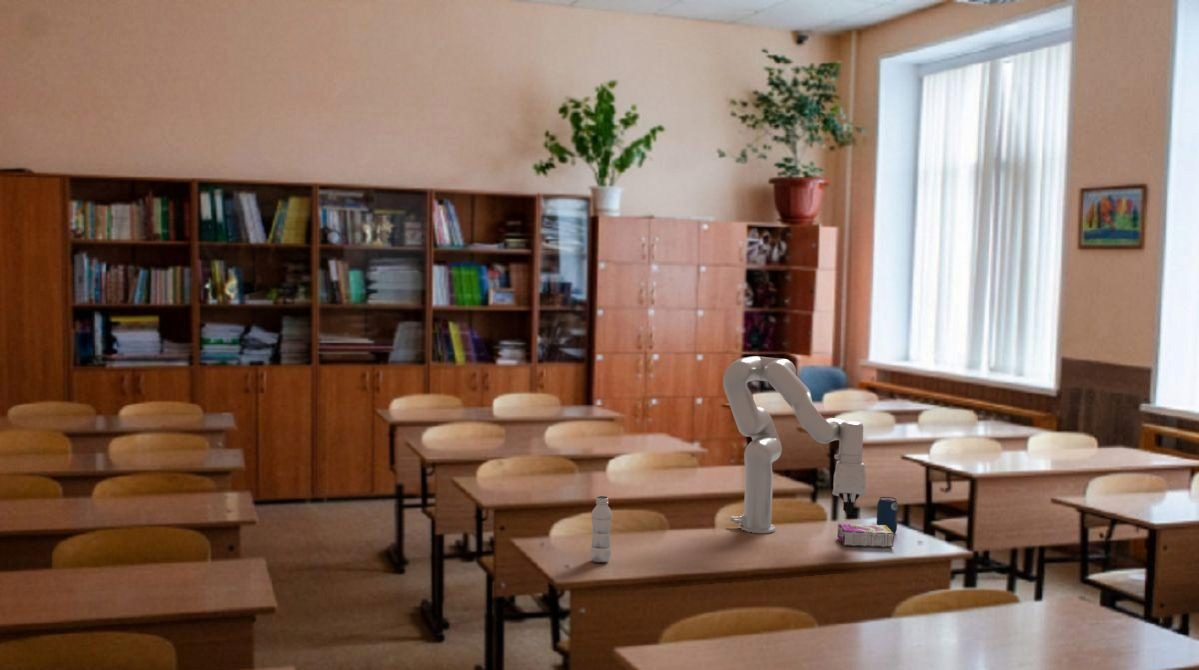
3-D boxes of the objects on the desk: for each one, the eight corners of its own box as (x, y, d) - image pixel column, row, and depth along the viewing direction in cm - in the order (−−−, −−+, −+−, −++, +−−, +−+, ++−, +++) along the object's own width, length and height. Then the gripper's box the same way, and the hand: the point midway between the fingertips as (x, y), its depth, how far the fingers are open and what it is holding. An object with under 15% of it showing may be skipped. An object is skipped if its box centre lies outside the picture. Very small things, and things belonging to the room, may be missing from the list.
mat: (845, 545, 353) (845, 544, 353) (839, 536, 365) (839, 535, 365) (891, 547, 353) (891, 546, 352) (883, 538, 364) (883, 537, 364)
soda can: (900, 534, 369) (902, 500, 369) (882, 535, 368) (884, 501, 367) (889, 529, 376) (891, 496, 375) (872, 530, 374) (874, 496, 373)
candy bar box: (837, 522, 362) (886, 524, 362) (836, 537, 363) (885, 539, 362) (844, 530, 351) (894, 533, 351) (843, 545, 351) (893, 548, 351)
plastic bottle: (585, 562, 326) (587, 498, 324) (596, 557, 332) (598, 493, 330) (604, 566, 323) (606, 501, 321) (614, 560, 329) (616, 496, 327)
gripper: (829, 460, 351) (827, 514, 353) (875, 461, 350) (872, 516, 352) (825, 455, 359) (823, 509, 360) (870, 457, 358) (868, 511, 359)
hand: (847, 512), depth 356 cm, fingers closed
